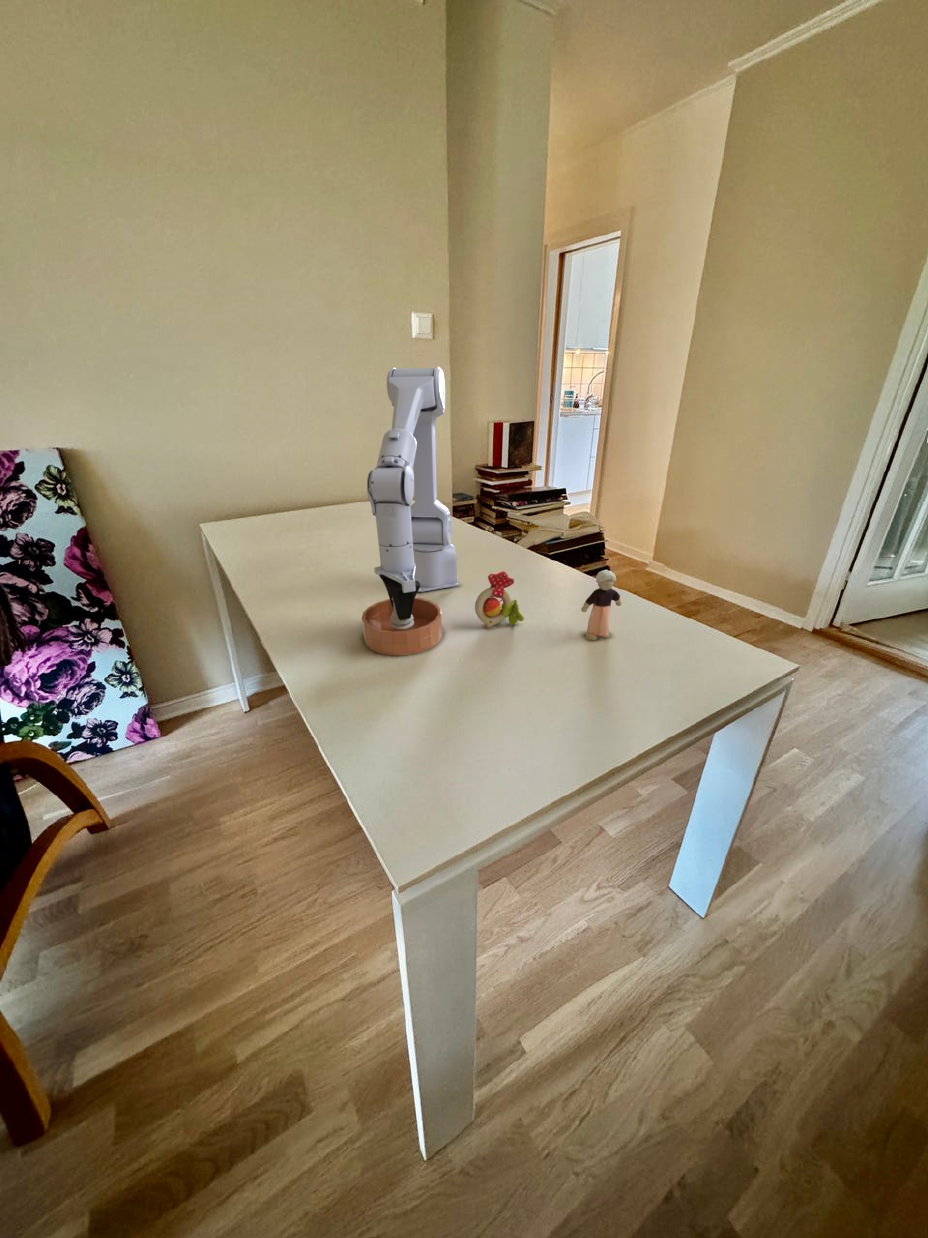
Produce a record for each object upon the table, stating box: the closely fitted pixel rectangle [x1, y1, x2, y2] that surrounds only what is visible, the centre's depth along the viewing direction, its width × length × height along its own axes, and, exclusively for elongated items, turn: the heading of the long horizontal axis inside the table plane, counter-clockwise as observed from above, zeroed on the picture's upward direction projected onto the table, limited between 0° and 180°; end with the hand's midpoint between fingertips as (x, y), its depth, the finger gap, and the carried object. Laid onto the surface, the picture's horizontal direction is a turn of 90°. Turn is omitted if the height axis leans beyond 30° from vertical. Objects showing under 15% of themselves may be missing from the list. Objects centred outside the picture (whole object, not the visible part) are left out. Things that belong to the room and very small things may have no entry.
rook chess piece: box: [390, 598, 414, 631], centre depth 86 cm, size 4×4×8 cm
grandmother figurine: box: [580, 569, 622, 641], centre depth 85 cm, size 8×4×13 cm, turn 117°
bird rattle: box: [474, 570, 525, 629], centre depth 89 cm, size 6×11×9 cm
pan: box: [361, 597, 443, 656], centre depth 88 cm, size 14×14×4 cm
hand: (401, 613), depth 87 cm, fingers closed on rook chess piece, 3 cm apart
